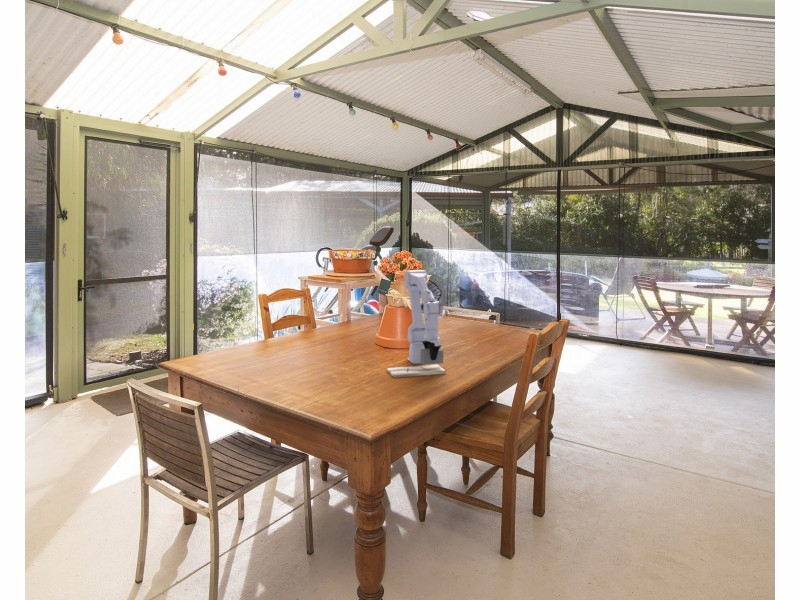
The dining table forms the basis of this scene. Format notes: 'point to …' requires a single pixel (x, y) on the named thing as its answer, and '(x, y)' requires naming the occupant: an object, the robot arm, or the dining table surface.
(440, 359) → the block
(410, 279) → the robot arm
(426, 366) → the cream flat panel
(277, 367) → the dining table surface
